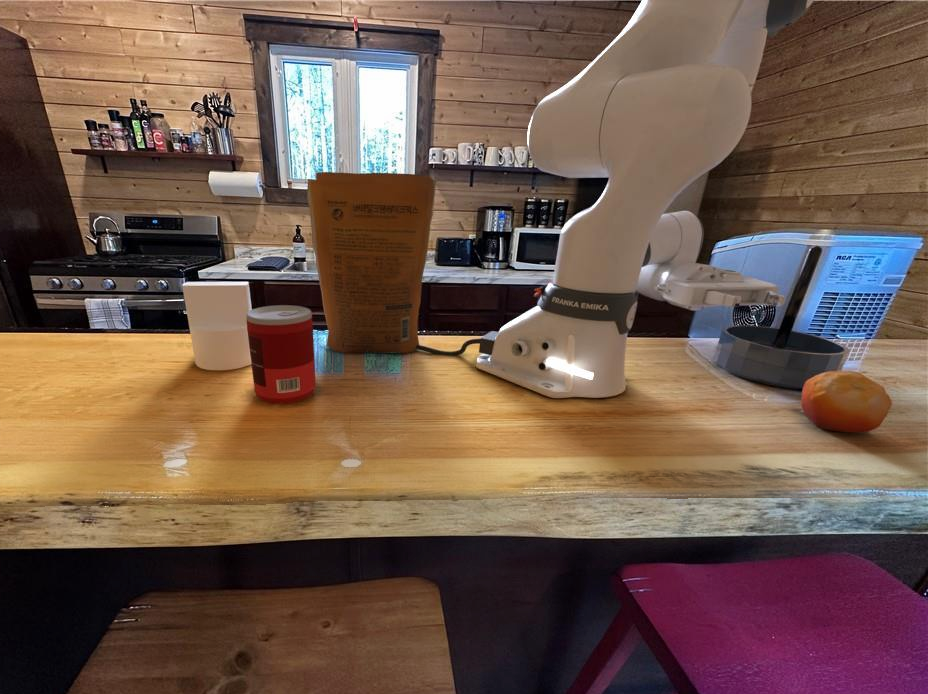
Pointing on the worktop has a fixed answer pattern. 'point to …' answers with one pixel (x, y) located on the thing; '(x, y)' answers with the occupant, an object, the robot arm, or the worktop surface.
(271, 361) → the canned food
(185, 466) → the worktop surface
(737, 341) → the bowl
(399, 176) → the pancake mix bag
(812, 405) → the fruit
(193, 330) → the base with upright slab
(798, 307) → the long black rod
